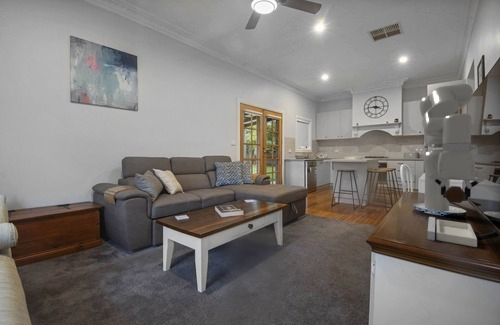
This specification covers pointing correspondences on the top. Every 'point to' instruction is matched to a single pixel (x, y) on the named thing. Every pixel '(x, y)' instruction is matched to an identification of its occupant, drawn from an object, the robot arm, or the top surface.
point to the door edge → (431, 228)
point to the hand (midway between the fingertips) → (455, 197)
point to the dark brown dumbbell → (455, 194)
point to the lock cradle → (456, 233)
